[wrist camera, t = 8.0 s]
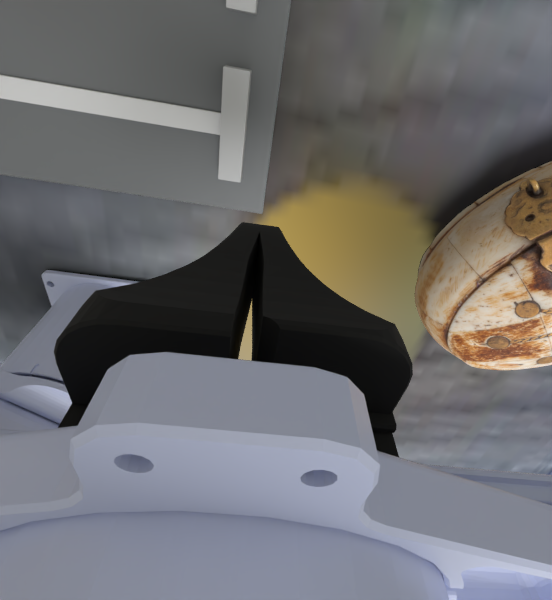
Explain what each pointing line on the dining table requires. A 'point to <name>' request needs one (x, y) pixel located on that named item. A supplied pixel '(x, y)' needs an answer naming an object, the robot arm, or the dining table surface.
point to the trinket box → (494, 277)
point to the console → (143, 95)
